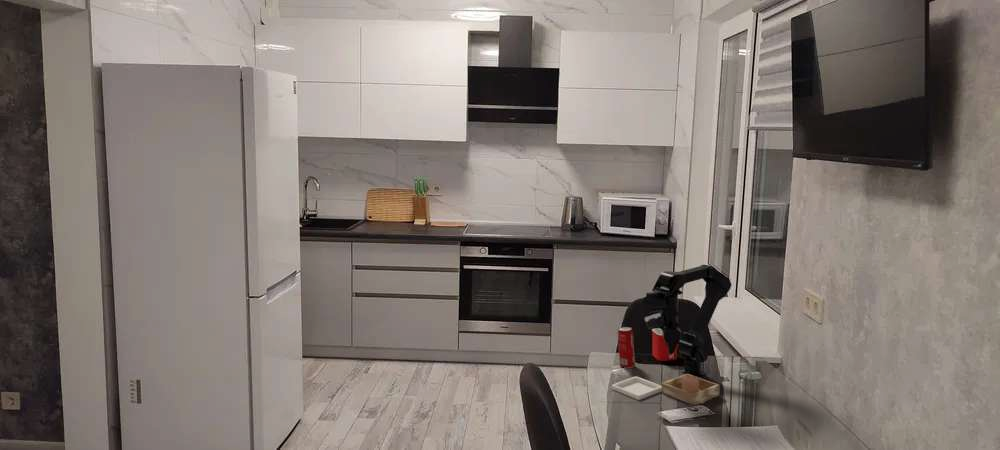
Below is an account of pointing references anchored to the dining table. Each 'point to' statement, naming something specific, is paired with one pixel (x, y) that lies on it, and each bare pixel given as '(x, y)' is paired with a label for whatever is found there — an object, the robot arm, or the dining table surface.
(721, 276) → the robot arm
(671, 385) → the wooden bin
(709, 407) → the dining table surface
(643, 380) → the tray
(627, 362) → the beverage can
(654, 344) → the mug
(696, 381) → the clay block
